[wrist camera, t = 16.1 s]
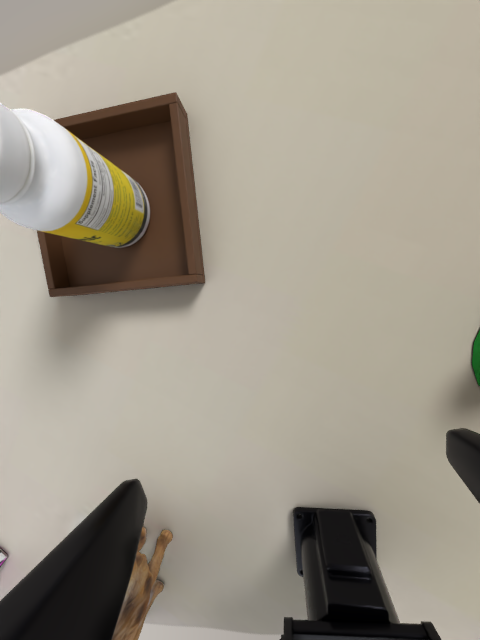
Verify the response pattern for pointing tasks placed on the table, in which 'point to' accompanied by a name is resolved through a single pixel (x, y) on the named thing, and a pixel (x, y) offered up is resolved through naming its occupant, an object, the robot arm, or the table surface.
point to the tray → (163, 195)
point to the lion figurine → (141, 589)
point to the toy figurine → (476, 358)
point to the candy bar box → (2, 556)
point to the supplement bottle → (65, 184)
